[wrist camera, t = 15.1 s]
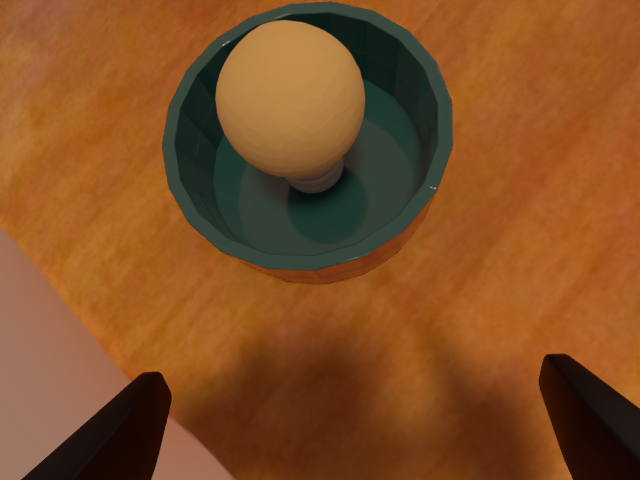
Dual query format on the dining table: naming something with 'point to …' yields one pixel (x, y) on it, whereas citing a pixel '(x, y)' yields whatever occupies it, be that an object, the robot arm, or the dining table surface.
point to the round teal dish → (359, 162)
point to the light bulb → (292, 103)
